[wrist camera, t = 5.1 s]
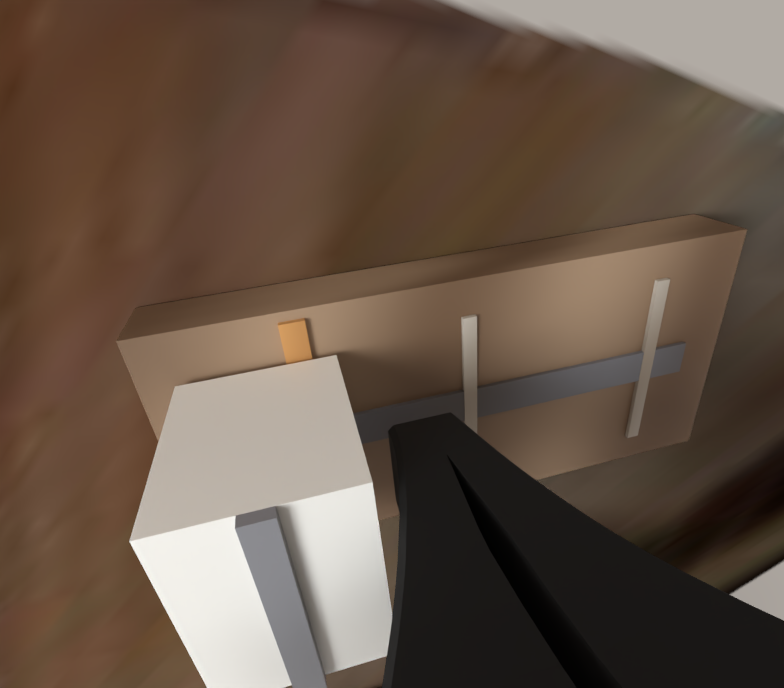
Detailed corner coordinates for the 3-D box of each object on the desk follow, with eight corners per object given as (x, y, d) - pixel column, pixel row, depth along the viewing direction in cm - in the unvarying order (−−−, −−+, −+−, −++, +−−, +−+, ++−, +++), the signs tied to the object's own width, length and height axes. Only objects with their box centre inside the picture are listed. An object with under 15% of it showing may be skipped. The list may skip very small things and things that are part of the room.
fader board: (694, 213, 12) (752, 230, 10) (651, 409, 15) (692, 443, 13) (135, 307, 10) (114, 344, 8) (215, 515, 13) (209, 568, 11)
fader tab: (336, 354, 9) (376, 492, 6) (361, 501, 11) (400, 664, 8) (174, 386, 9) (125, 555, 6) (230, 534, 11) (217, 722, 8)
